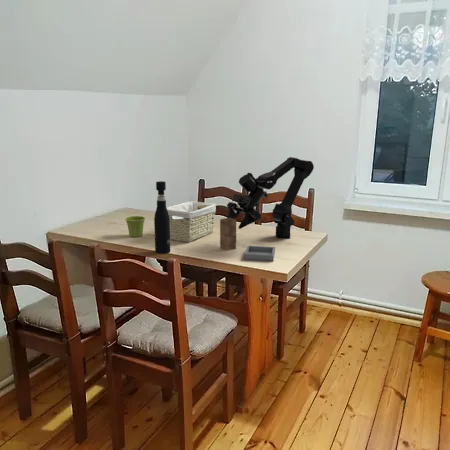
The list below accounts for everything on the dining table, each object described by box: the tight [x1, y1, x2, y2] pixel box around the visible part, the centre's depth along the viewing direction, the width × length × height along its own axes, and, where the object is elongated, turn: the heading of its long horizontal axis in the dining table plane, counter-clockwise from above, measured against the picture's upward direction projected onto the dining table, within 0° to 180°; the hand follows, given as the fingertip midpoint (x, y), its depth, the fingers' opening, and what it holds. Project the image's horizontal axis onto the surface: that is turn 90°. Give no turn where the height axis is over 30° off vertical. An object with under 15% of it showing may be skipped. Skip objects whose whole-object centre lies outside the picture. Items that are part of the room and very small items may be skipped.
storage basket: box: [166, 200, 217, 243], centre depth 217 cm, size 24×16×15 cm
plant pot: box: [124, 215, 146, 238], centre depth 217 cm, size 9×9×9 cm
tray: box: [244, 245, 276, 262], centre depth 188 cm, size 12×12×2 cm
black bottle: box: [153, 180, 171, 255], centre depth 190 cm, size 6×6×30 cm
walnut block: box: [219, 217, 237, 252], centre depth 197 cm, size 5×5×13 cm
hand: (232, 226), depth 198 cm, fingers open, 9 cm apart
